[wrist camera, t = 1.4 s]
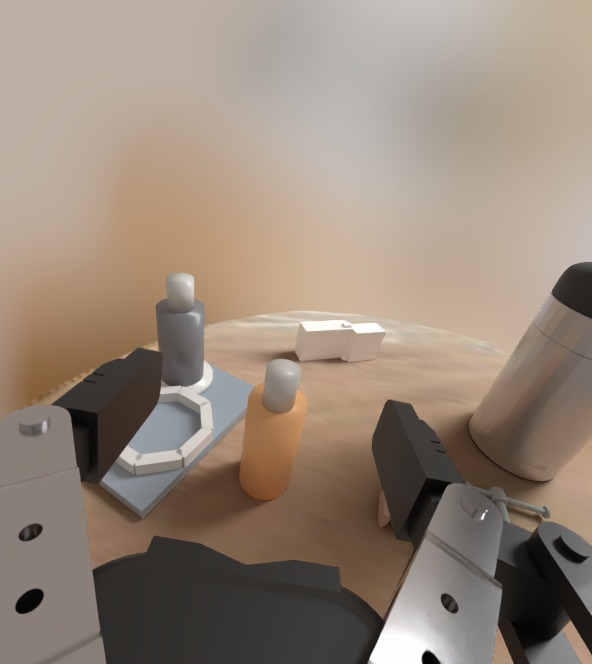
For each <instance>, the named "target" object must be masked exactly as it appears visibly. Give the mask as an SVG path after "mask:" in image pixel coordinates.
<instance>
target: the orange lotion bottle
mask: <svg viewBox="0 0 592 664" xmlns="http://www.w3.org/2000/svg"><path fill="white" fill-rule="evenodd" d="M300 376H301V369H300V367H299V366H298V365H297V364H296V363H295V362H293V361H290V360H287V359H275V360H273V361H271V362H269V363H268V365H267V368H266V375H265V382H264V383H262V384H260V385H258V386H256V387H255V388H253V390H252V391H251V392H250V394H249V397H248V404H247V412H246V421H245V429H244V438H243V446H242V455H241V464H240V472H239V481H240V484H241V487H242V488H243V490H244V491H245V492H246V493H247V494H248V495H249V496H251V497H253V498H255V499H258V500H271V499H274V498H277V497H278V496H280V495H281V494H282V493H283V492H284V491H285V490H286V488H287V486H288V483H289V479H290V475H291V471H292V467H293V463H294V459H295V455H296V451H297V448H298V444H299V440H300V436H301V432H302V428H303V424H304V420H305V416H306V412H307V407H308V404H307V400H306V398H305V396H304V394H303V393H302V392H301V391H300V390H299V389H298V385H299V380H300Z"/></svg>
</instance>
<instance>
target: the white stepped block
mask: <svg viewBox="0 0 592 664" xmlns="http://www.w3.org/2000/svg"><path fill="white" fill-rule="evenodd" d="M384 334H385V331H384V330H383V329H382V328H381V327H380V326H379V325H378V324H377V323H364V324H351V323H350V322H346V321H345V320H333V321H310V322H300V325H299V330H298V336H297V341H296V346H295V353H296V355H297V356H298V358H299V360H300V361H308V360H319V359H330V358H341V359H342V361H348V362H355V361H365V360H375V359H376V356H377V353H378V351H379V348H380V345H381V342H382V340H383V337H384Z"/></svg>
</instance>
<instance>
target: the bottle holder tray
mask: <svg viewBox="0 0 592 664" xmlns="http://www.w3.org/2000/svg"><path fill="white" fill-rule="evenodd" d="M166 290H167V299H164V300H162V301H160V302H159V303H158V304H157V305H156V317H157V331H158V346H159V352H161V353H162V354H163V365H162V379H161V391H160V396H159V400H158V403H157V405H156V407H155V409H154V410H153V411H152V413H151V414H150V415H149V417H148V418H147V419H146V421H145V422H144V423H143V425H142V426H141V428H140V429H139V430H138V432H137V433H136V434H135V436H134V437H133V438H132V440H131V441H130V442H129V444H128V445H127V446H126V448H125V449H124V450H123V452H122V453H121V454H120V456H119V457H118V458H117V460H116V461H115V463H114V464H113V465H112V467H111V468H110V469H109V471H108V472H107V473H106V475H105V476H104V477H103V479H102V480H101V481H100V483H99V485H100V486H101V487H103V488H104V489H105V490H106V491H108V492H109V493H110V494H112V495H113V496H114V497H115V498H117V499H118V500H119V501H121V502H122V503H123V504H124V505H126V506H127V507H128V508H130V509H131V510H132V511H133V512H135V513H136V514H137V515H139V516H140V517H141V518H142V519H144V518H145V517H146V516H147V515H148V514H149V513H150V512H151V511H152V510H153V508H154V507H155V506H156V505H157V504H158V503H159V502H160V501H161V500H162V499H163V498H164V497H165V496H166V495H167V494H168V493H169V492H170V491H171V490H172V489H173V488H174V487H175V486H176V485H177V484H178V483H179V482H180V481H181V480H182V479H183V478H184V477H185V476H186V475H187V474H188V473H189V472H190V471H191V470H192V469H193V468H194V467H195V466H196V465H197V463H198V462H199V461H200V460H201V459H202V458H203V457H204V456H205V455H206V454H207V453H208V452H209V451H210V450H211V449H212V448H213V447H214V446H215V445H216V444H217V443H218V442H219V441H220V440H221V439H222V438H223V437H224V436H225V435H226V434H227V433H228V432H229V431H230V430H231V429H232V428H233V427H234V426H235V425H236V424H237V423H238V422H239V421H240V420H241V419H242V417H243V416H244V415H245V414H246V412H247V404H248V397H249V394H250V392H251V391H252V390H253V388H255V387H254V386H252V385H250V384H248V383H246V382H244V381H242V380H240V379H238V378H236V377H234V376H232V375H230V374H228V373H227V372H225V371H223V370H221V369H219V368H217V367H215V366H213V365H211V364H209V363H207V362H206V361H204V320H205V316H204V315H205V307H204V305H203V303H202V302H200V301H198V300H196V299H194V277H193V276H191V275H189V274H185V273H172V274H169V275H167V277H166Z"/></svg>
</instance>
